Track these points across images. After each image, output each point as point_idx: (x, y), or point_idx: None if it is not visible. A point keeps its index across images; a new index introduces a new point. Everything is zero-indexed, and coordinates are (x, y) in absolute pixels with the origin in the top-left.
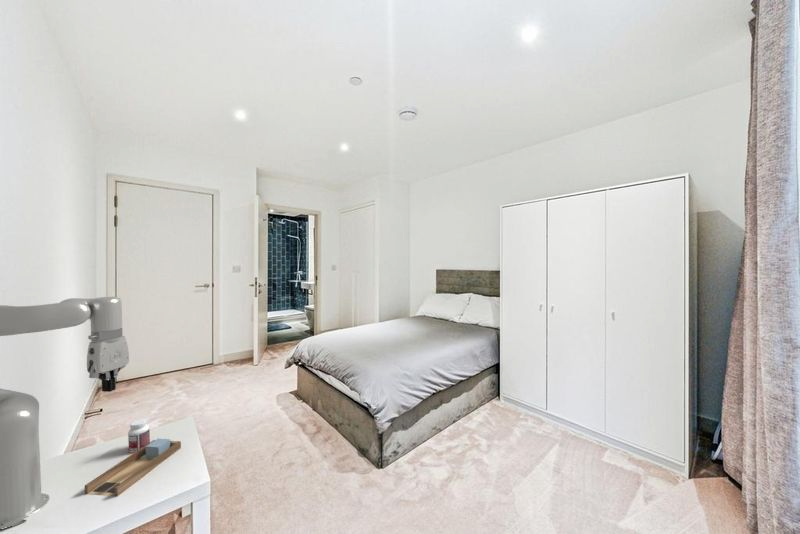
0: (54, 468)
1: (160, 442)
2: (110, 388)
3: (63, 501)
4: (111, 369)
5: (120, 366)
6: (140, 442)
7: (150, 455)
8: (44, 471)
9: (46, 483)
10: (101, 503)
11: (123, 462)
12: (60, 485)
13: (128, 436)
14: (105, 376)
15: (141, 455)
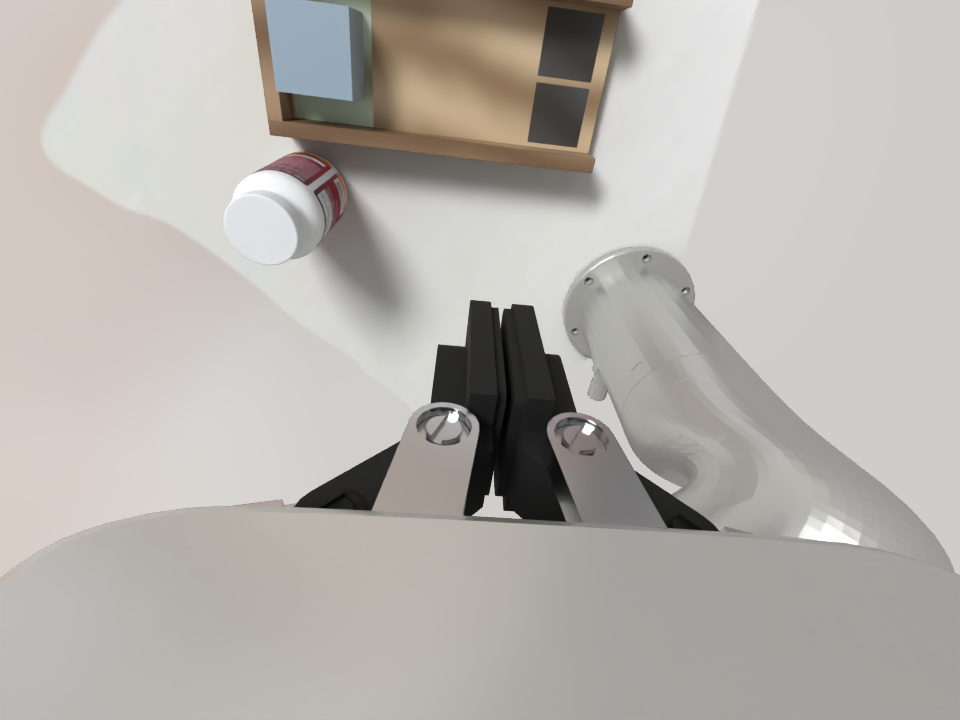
0: None
1: (305, 36)
2: (533, 326)
3: (593, 221)
4: (702, 546)
5: (403, 523)
6: (317, 173)
7: (361, 69)
8: None
9: None
10: (631, 56)
11: (447, 140)
12: (514, 301)
13: (322, 238)
14: (635, 485)
15: (362, 126)
